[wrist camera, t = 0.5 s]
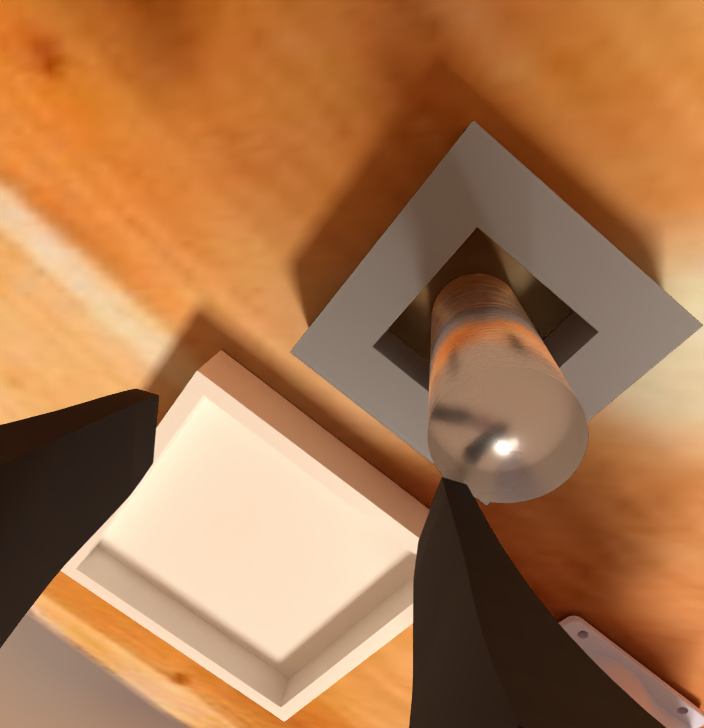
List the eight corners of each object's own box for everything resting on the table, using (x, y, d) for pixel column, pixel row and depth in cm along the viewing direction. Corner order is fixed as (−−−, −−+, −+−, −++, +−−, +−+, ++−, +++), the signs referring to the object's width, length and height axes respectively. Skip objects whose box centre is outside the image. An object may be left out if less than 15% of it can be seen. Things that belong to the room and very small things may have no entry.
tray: (468, 539, 25) (471, 577, 22) (295, 679, 30) (284, 721, 28) (221, 349, 23) (197, 370, 21) (87, 535, 29) (57, 568, 26)
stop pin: (538, 311, 20) (623, 435, 11) (477, 371, 21) (506, 527, 12) (472, 255, 20) (504, 334, 10) (414, 320, 21) (396, 441, 12)
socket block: (664, 302, 19) (703, 325, 16) (480, 464, 23) (486, 505, 20) (467, 126, 18) (473, 120, 15) (308, 328, 22) (290, 351, 19)
